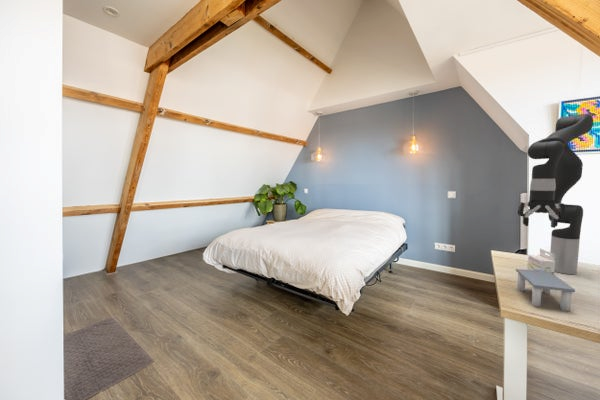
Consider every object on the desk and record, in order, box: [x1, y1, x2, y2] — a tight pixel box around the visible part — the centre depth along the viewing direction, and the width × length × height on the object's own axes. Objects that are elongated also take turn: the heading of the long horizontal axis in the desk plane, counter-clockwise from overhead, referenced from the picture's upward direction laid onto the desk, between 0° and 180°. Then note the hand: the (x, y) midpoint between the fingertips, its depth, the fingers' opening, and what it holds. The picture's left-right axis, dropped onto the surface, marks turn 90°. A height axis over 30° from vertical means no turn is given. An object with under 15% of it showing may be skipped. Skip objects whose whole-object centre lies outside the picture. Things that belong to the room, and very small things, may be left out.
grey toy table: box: [515, 268, 576, 312], centre depth 93 cm, size 16×11×8 cm
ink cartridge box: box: [527, 248, 555, 275], centre depth 106 cm, size 9×5×15 cm, turn 168°
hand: (539, 226), depth 102 cm, fingers open, 8 cm apart
